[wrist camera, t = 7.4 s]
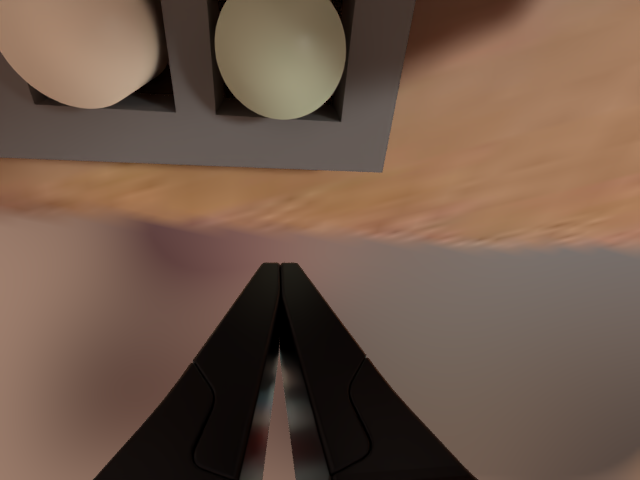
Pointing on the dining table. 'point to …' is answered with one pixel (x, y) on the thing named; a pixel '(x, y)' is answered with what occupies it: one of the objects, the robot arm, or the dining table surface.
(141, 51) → the beige domed piece
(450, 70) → the dining table surface
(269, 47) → the pale green egg
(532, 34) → the dining table surface
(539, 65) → the dining table surface
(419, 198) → the dining table surface
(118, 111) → the egg tray
